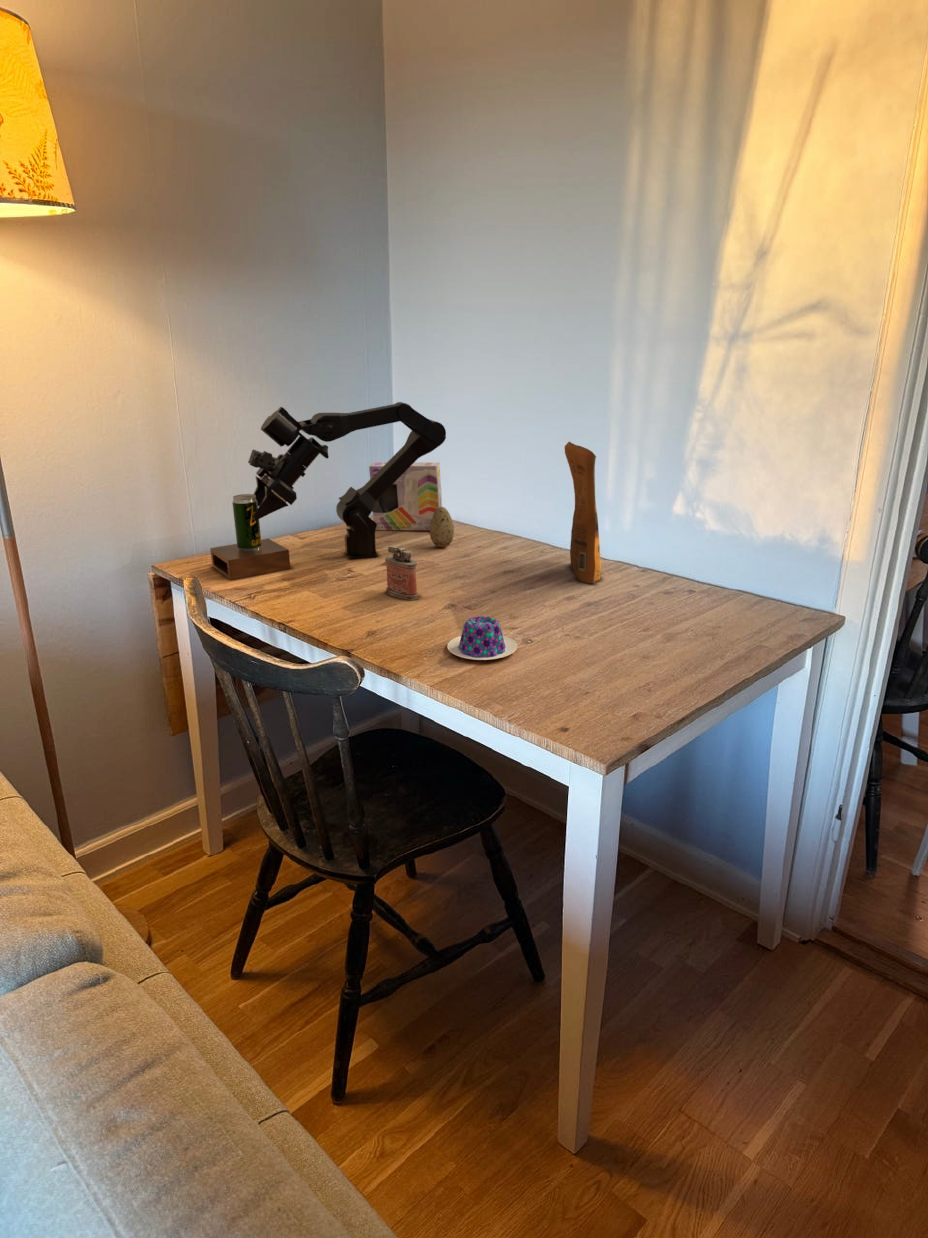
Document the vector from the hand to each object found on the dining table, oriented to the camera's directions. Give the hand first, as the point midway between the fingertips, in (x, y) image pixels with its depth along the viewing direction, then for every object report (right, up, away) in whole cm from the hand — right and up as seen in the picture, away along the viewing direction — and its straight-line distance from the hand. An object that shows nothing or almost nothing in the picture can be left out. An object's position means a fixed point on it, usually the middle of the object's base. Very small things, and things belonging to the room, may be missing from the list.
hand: (251, 513), depth 184 cm
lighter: (+35, -19, -15) cm, 42 cm away
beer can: (-1, -8, +2) cm, 8 cm away
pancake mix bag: (+73, -14, -2) cm, 75 cm away
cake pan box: (+32, 0, +35) cm, 48 cm away
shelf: (-1, -12, +4) cm, 13 cm away
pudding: (+51, -29, -43) cm, 72 cm away
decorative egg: (+42, -6, +19) cm, 46 cm away
